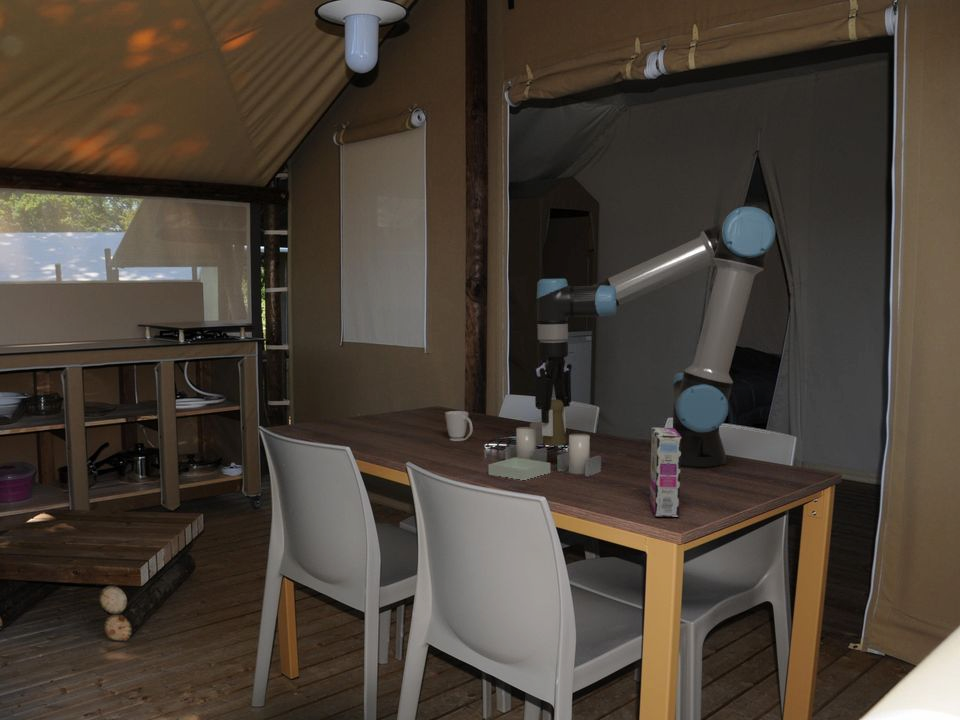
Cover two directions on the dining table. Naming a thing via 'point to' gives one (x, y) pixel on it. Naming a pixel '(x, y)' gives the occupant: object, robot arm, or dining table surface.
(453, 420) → the cup
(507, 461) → the tray
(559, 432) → the cork
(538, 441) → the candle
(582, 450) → the cream jar
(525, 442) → the cream rounded capsule
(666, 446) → the candy bar box
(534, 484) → the dining table surface
